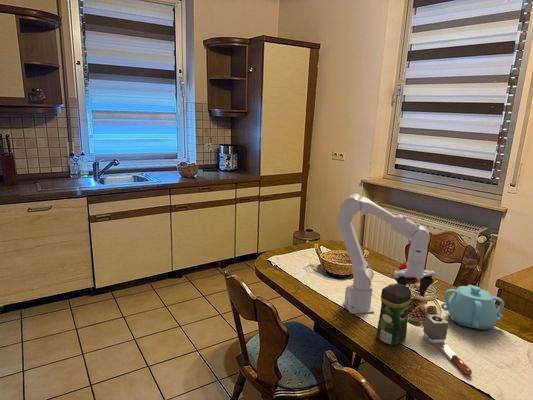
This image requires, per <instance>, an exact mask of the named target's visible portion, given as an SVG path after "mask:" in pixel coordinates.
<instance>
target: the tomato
mask: <svg viewBox="0 0 533 400" xmlns="http://www.w3.org/2000/svg"><path fill="white" fill-rule="evenodd" d="M407 262H408V260H407V261H403V262H401V264H400V265H399V267H398V271H399V270H403V269H407ZM405 279H408V280H413V279H417V278H416V277H405Z"/></svg>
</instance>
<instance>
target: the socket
mask: <svg viewBox="0 0 533 400" xmlns="http://www.w3.org/2000/svg"><path fill="white" fill-rule="evenodd" d="M448 328H449V321H447V320H446V318H444V316H442V315H441V314H425V317H424V324H423V329H422V332H423V333H424V332H425V333H426V334H427V336H428V337H429V338H430V339H431V340H439V339H445V340H447V334H448Z"/></svg>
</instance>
